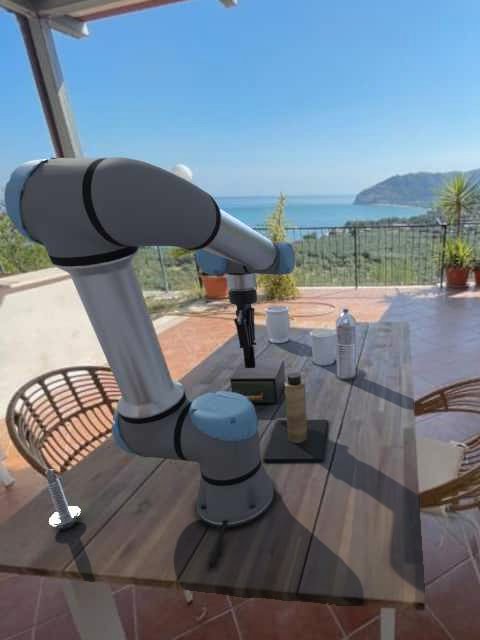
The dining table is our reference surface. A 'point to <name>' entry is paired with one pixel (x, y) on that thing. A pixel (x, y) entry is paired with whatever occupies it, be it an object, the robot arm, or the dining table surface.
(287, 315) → the jar
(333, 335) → the candle holder
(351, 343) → the water bottle
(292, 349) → the dining table surface
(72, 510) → the screw
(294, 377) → the pepper mill
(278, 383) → the cabinet
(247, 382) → the drawer
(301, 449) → the placemat
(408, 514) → the dining table surface
